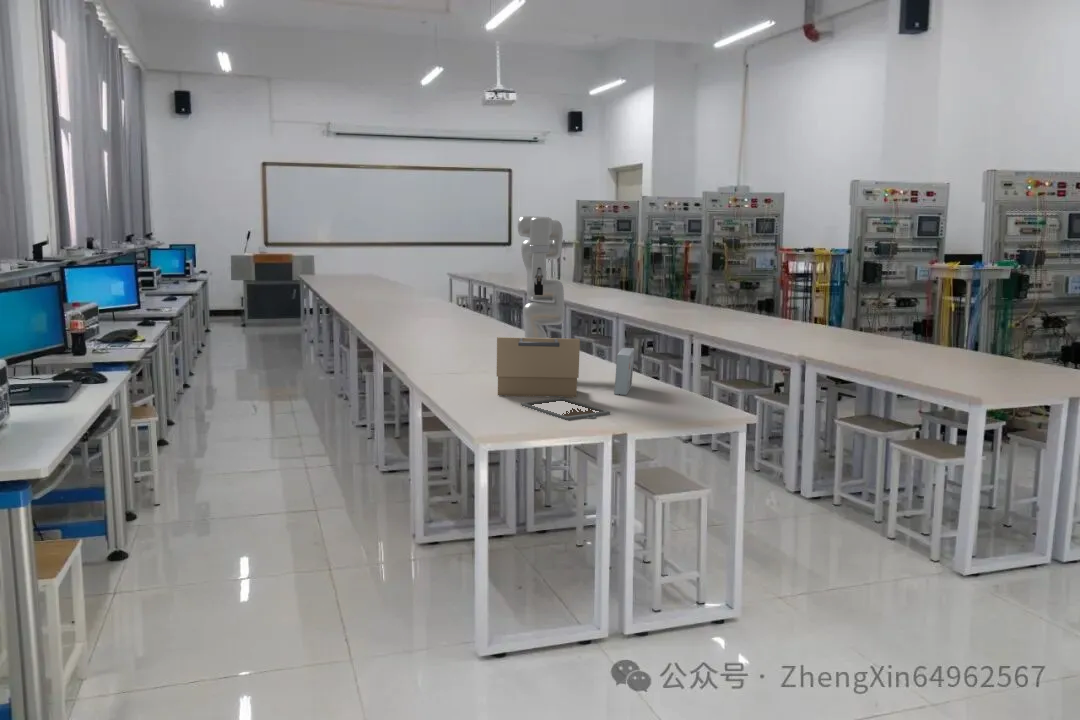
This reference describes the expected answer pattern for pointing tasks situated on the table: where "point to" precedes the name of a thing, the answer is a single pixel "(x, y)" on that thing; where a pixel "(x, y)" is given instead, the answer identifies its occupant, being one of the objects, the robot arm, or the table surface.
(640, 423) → the table surface
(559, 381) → the mailer box
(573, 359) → the lid
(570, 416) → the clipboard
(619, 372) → the skincare box
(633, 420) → the table surface
